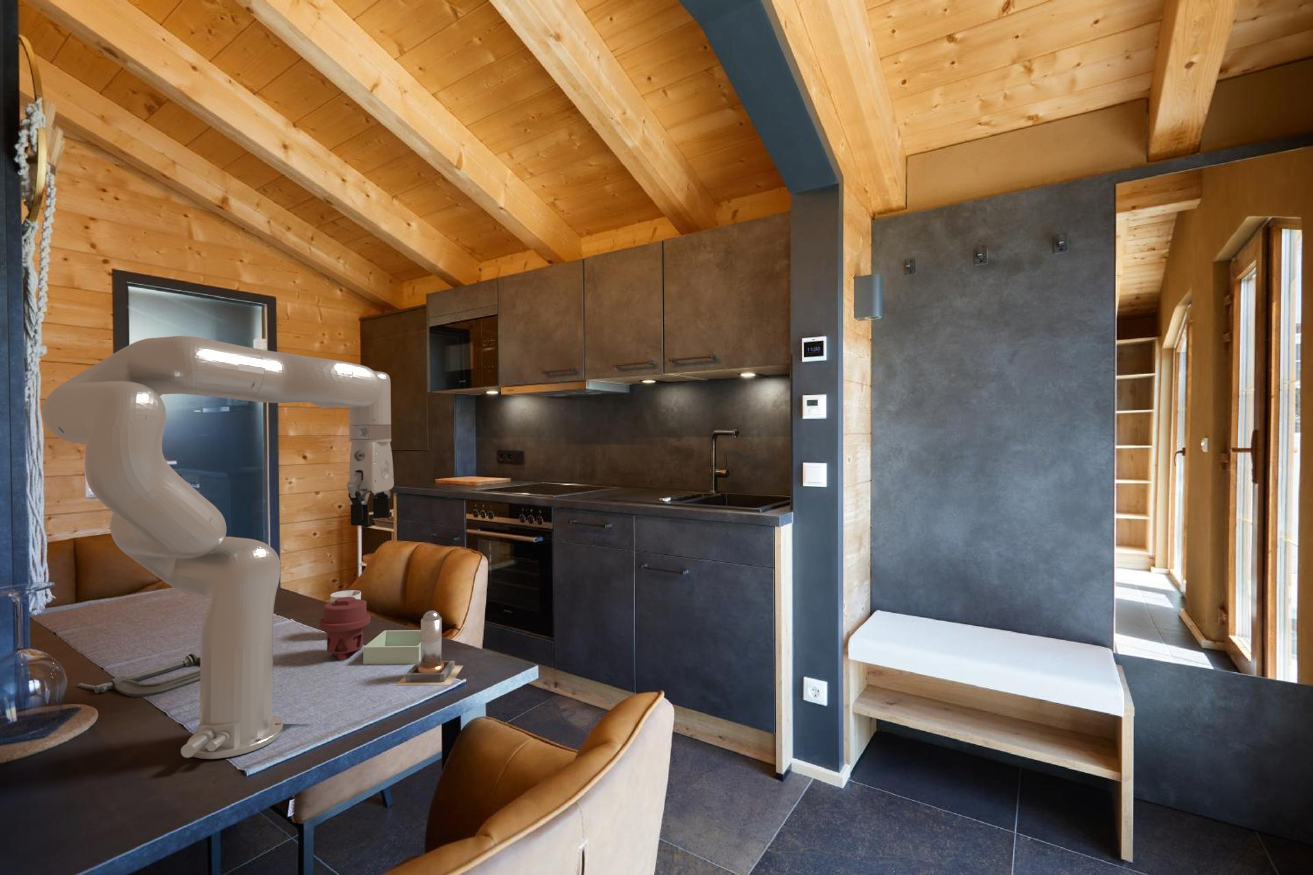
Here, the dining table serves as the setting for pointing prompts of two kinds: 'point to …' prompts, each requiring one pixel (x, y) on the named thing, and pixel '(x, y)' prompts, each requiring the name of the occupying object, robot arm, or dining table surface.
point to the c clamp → (141, 690)
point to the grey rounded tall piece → (431, 643)
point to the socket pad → (430, 676)
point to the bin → (394, 648)
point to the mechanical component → (344, 626)
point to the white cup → (346, 594)
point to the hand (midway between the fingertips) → (371, 521)
